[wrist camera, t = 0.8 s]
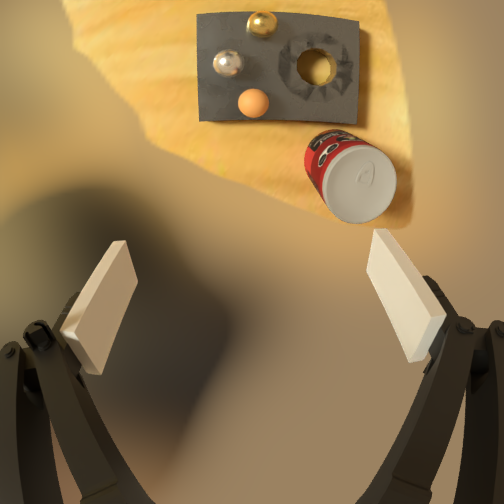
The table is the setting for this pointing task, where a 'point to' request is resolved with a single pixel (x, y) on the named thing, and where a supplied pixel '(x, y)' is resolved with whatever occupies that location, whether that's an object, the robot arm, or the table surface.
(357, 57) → the bearing plate
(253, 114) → the orange ball
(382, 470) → the robot arm
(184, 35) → the table surface
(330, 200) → the canned food
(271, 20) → the brass ball
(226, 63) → the steel ball
